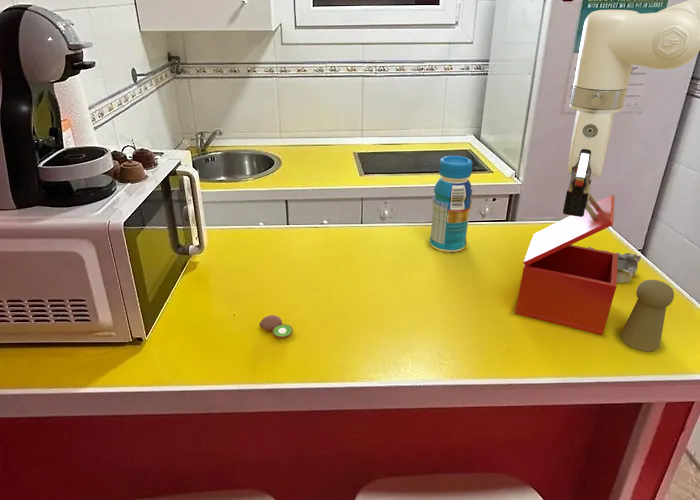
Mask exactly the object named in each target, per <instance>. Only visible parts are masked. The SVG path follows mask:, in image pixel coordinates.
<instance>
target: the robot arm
mask: <svg viewBox="0 0 700 500" xmlns="http://www.w3.org/2000/svg"><path fill="white" fill-rule="evenodd" d="M581 34H582V35H581V39H580V45H579V51H578V57H577V61H576V67H575V73H574V77H573V84H572V89H571V94H570V99H569V105H568V107H569V109H572V110H574V111H576V113H575V117H574V123H573V129H572V133H571V134H572V135H571V142H570V147H569V155H568V168H567V172H568V173H569V174H570V175H571V176H570V179H569V180H570V181H569V185H568V189H567V190H566V193H565V200H564V204H563V209H562V214H563V215H567V216H570V215H572V216H579V217H583V216H584V212H585V208H586V203H587V198H588V194H589V193H587V190H588V186H589V184H590V185H591V182H592V179H591V177H592V176H595V178H597V179H598V178H600V177H601V176H602V172H603V168H604V163H605V159H606V154H607V149H608V145H609V142H610V137H611V131H612V127H613V120H614V114H617V113H618V114H619V113H621V112H622V111H623V108H624V103H625V99H626V95H627V91H628V86H629V81H630V77H631V73H632V68H633V65H634V66H640V67H645V68H649V69H656V70H673V69H677V68H680V67H683V66H684V65H686V64H688V63H689V62H690V61H692V60H693V59H694V58H695V57H696V56H697V54H699V52H700V0H685V1H683V2H680V3H677V4H674V5H672V6H668V7H666V8H664V9H661V10H659V11H657V12H646V13H640V12H639V11H636V10H631V9H599V10H594V11H591V12H590V13H589V14H588V15H587V16H586V18H585V20H584V23H583V29H582V33H581Z"/></svg>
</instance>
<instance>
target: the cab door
mask: <svg viewBox="0 0 700 500" xmlns="http://www.w3.org/2000/svg"><path fill="white" fill-rule="evenodd" d="M591 188H592V187H591V183H590V184H589V186H588V190H587V193H589V194H588V198H587V203H586V208H585V212H584V216H583V217H579V216H572V215H567V217H564V218H562V219H560V220H559V221H557V222H555V223H553V224H550V225H548V226H547V227H545V228H543V229H541V230H539V231H537V232H535V233H533V235H532V238H531V239H530V243H529V246H528V248H527V251H526V254H525V256H524V259H523V261H522V263H523V266H524V265H525V266H527V265H529V264H531V263H533V262H535V261H538V260H540V259H542V258H544V257H546V256H548V255H550V254H552V253H555V252H557V251H559V250H561V249H563V248H565V247H567V246H569V245H574V244H576V243H578V242H581V241H582V240H584V239H586V238H589V237H591V236H593V235H595V234H597V233H600V232H601V231H603V230H605V229H607V228H610V227H612V226H614V215H615V202H616V201H615V200H616V197H615V195H614V194H610V195H607V196H605V197H604V198H602V199H600V200H598V201H596V199H595V198H594V197H593V195H592V194H591Z"/></svg>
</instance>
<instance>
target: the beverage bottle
mask: <svg viewBox="0 0 700 500" xmlns="http://www.w3.org/2000/svg"><path fill="white" fill-rule="evenodd" d="M472 171H473V160H471V159H470V158H468V157H466V156H460V155H447V156H443V157H441V158H440V161H439V168H438V173H439V176H440V177H439V178H438V180H437V181H436V183H435V184H434V188H433V192H434V195H433V198H432V201H431V205H432V216H431V228H430V236H429V244H430V246H431V247H432V248H433V249H435V250H437V251H440V252H444V253H457V252H460V251H463V250H464V249H465V248H466V246H467V235H468V226H469V218H470V211H471V209H472V205H473V201H472V197H471V196H472V195H473V192H474V191H473V186H472V184H471V181H470V180H469V179H470V177H471V176H472Z"/></svg>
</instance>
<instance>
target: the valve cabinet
mask: <svg viewBox="0 0 700 500" xmlns="http://www.w3.org/2000/svg"><path fill="white" fill-rule="evenodd" d="M601 250H602V249H595V248H594V249H591V248H588V247H585V246H579V245H574V244H572V245H569V246H567V247H565V248H563V249H561V250H559V251H557V252H555V253H552V254H550V255H548V256H546V257H544V258H542V259H540V260H538V261H535V262H533V263H531V264H529V265H527V266H525V265H524V264H523V269H522V275H521V279H520V284H519V290H518V296H517V301H516V307H515V312H514V315H519V316H523V317H527V318H531V319H535V320H539V321H543V322H547V323H551V324H555V325H559V326H563V327H567V328H571V329H575V330H579V331H584V332H588V333H592V334H594V335H595V334H596V335H600V336H603V335H604V331H605V328H606V325H607V323H608V322H607V321H608V318H609V314H610V312H611V307H612V303H613V300H614V297H615V293H616V290H617V285H618V284H617V283H618V282H617V264H618V254H617V253H618V252H611V251H608V250H604V251H601ZM607 251H608V252H607Z"/></svg>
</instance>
